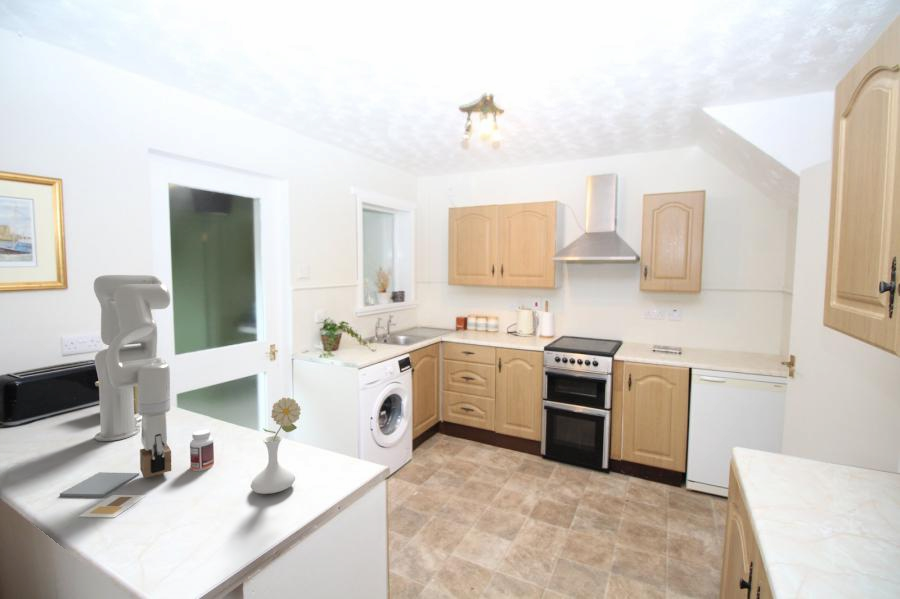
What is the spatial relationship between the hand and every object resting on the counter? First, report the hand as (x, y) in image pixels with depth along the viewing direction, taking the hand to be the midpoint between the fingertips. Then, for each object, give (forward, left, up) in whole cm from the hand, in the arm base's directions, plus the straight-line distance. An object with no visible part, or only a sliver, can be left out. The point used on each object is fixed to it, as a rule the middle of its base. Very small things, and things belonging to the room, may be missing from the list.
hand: (155, 466), depth 120 cm
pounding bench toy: (-54, -49, -3) cm, 73 cm away
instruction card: (+16, +1, -3) cm, 16 cm away
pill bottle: (-6, +10, -3) cm, 12 cm away
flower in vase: (+5, +38, -3) cm, 38 cm away
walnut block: (0, 0, -1) cm, 1 cm away
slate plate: (+6, -11, -3) cm, 13 cm away
